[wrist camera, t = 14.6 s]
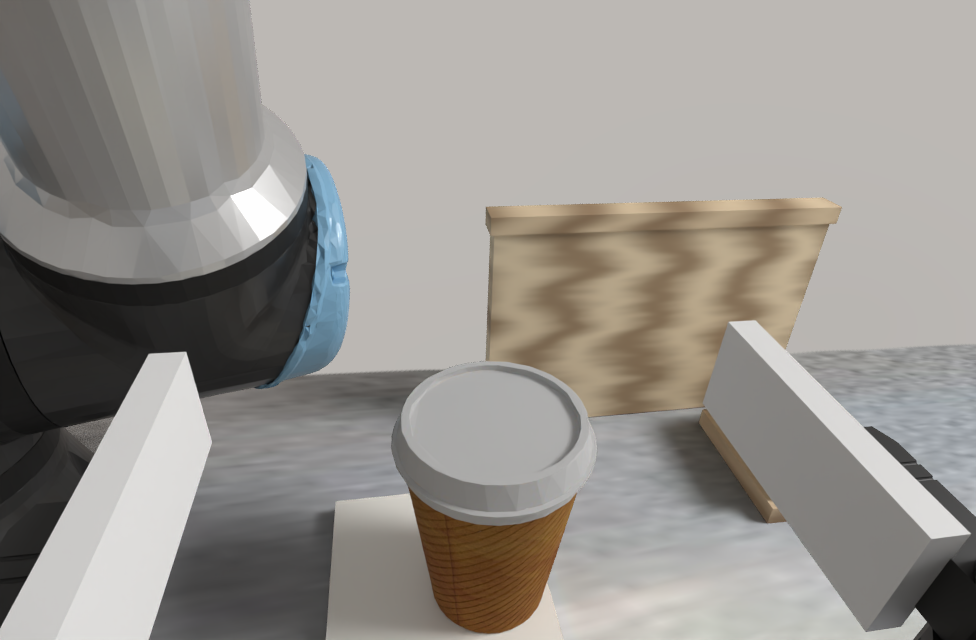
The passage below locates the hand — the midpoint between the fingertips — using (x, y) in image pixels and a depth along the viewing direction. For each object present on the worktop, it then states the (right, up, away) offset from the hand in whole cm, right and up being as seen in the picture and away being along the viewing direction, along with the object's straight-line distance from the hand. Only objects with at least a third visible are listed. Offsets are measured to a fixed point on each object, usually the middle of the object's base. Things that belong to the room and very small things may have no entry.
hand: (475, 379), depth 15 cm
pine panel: (+12, -6, +33) cm, 36 cm away
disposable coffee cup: (0, -13, +18) cm, 23 cm away
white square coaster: (-3, -14, +19) cm, 24 cm away
